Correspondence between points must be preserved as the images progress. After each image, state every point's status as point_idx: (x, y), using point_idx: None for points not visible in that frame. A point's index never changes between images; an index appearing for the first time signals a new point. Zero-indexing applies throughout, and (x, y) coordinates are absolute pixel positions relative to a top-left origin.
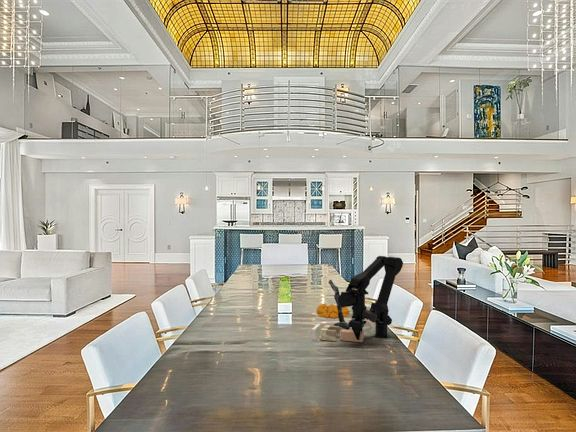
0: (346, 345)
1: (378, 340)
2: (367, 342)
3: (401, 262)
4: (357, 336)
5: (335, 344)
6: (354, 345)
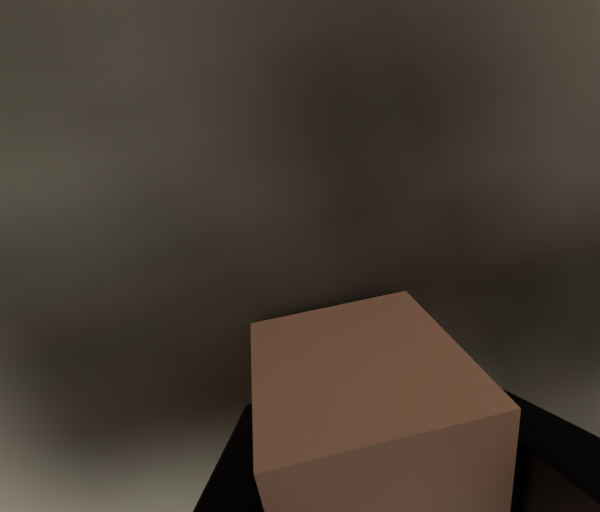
0: (575, 411)
1: (66, 29)
2: (341, 217)
3: None
4: None
5: None
6: (557, 334)
